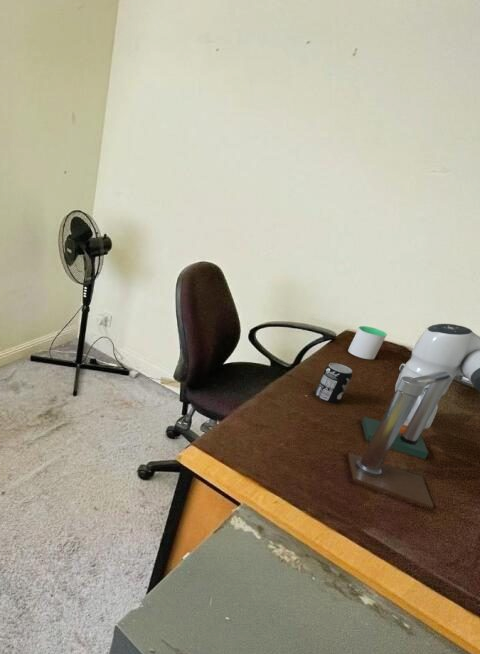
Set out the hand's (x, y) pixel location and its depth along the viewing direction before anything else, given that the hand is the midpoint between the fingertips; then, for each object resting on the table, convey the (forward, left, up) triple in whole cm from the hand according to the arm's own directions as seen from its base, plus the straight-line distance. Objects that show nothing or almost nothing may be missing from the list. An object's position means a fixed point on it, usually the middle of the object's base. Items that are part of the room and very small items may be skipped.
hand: (402, 422), depth 114 cm
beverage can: (+14, -14, -7) cm, 21 cm away
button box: (0, 0, -7) cm, 7 cm away
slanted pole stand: (+4, +22, -7) cm, 23 cm away
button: (0, 0, -3) cm, 3 cm away
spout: (+5, +17, +1) cm, 18 cm away
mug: (0, -62, -7) cm, 62 cm away
